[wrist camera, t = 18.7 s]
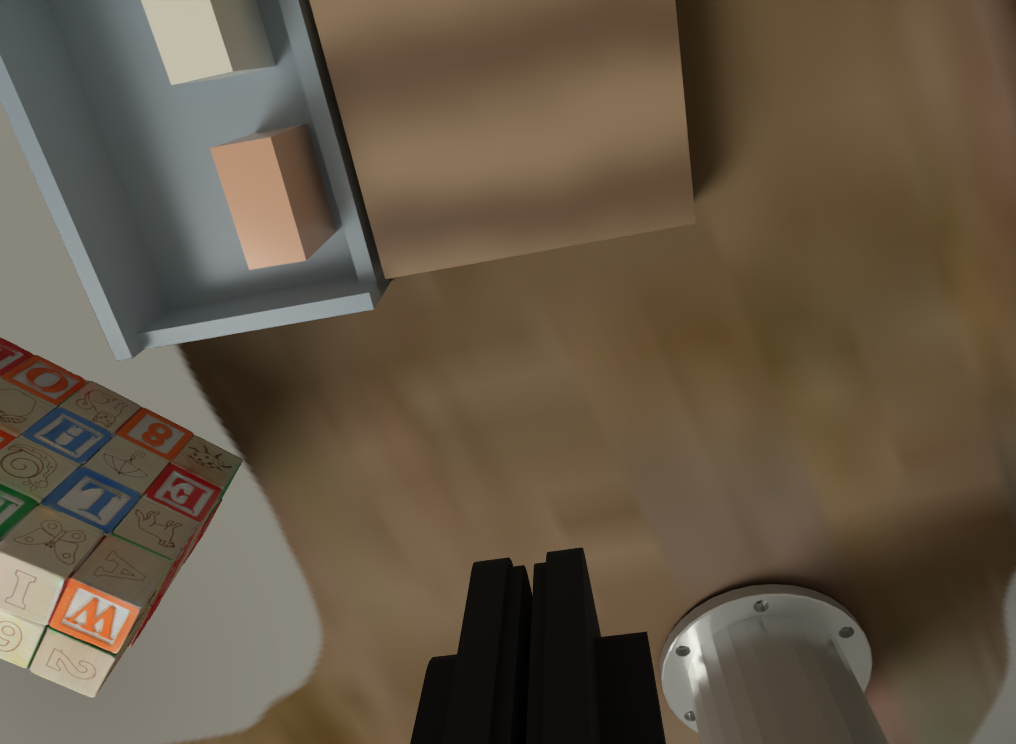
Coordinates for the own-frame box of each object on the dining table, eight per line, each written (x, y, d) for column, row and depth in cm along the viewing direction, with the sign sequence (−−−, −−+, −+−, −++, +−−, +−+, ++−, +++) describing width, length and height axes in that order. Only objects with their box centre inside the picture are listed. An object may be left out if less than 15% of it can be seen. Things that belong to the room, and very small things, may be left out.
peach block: (306, 260, 31) (249, 269, 31) (336, 231, 35) (286, 240, 36) (270, 136, 29) (209, 148, 29) (307, 123, 33) (254, 132, 34)
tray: (390, 282, 37) (369, 317, 32) (166, 322, 38) (116, 361, 34) (275, -142, 30) (228, -175, 25) (5, -74, 31) (-87, -93, 26)
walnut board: (683, 208, 35) (696, 223, 32) (396, 261, 36) (385, 279, 34) (643, -202, 28) (654, -227, 26) (297, -117, 30) (273, -132, 27)
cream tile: (233, 71, 28) (171, 85, 28) (276, 66, 32) (222, 78, 33) (183, -81, 26) (117, -64, 26) (237, -63, 30) (180, -49, 31)
